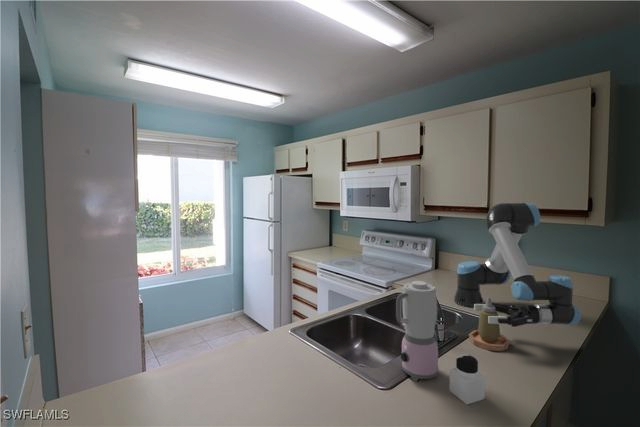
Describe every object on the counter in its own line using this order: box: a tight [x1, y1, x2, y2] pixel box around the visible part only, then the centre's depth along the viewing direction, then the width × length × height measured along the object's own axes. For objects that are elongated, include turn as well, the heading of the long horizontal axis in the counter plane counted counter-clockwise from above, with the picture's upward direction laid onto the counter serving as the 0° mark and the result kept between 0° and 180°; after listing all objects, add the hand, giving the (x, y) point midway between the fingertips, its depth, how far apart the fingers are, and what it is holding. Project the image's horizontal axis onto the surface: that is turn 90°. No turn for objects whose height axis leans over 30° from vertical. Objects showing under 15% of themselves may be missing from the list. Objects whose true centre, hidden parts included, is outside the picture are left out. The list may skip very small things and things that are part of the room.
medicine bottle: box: [449, 353, 486, 405], centre depth 93 cm, size 7×7×12 cm
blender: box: [395, 280, 439, 381], centre depth 105 cm, size 16×12×32 cm
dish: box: [468, 329, 511, 352], centre depth 126 cm, size 14×14×2 cm
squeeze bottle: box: [477, 297, 501, 343], centre depth 125 cm, size 8×8×18 cm
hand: (481, 313), depth 125 cm, fingers open, 13 cm apart
